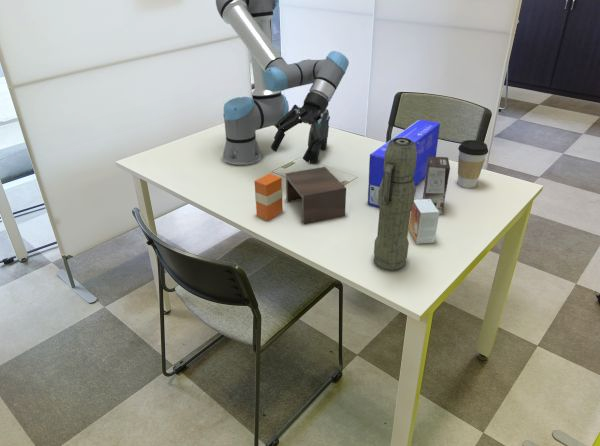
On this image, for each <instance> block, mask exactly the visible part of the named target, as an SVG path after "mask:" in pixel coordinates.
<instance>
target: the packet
mask: <svg viewBox="0 0 600 446" xmlns="http://www.w3.org/2000/svg"><path fill="white" fill-rule="evenodd" d="M282 180H283V178H282V177H281V176H279V175H276V174H272V173H270V172H269V173H267V174H265V175H263V176H261V177H259V178H257V179H255V180H254V199H255V211H256V217H258V218H259V219H263V220H265V221H267V222H269V221H271V220H272V219H273V218H276V217H278V216H279V215H281V214H282V213H284V212H283V211H284V209H283V207H284V206H283V181H282Z"/></svg>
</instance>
